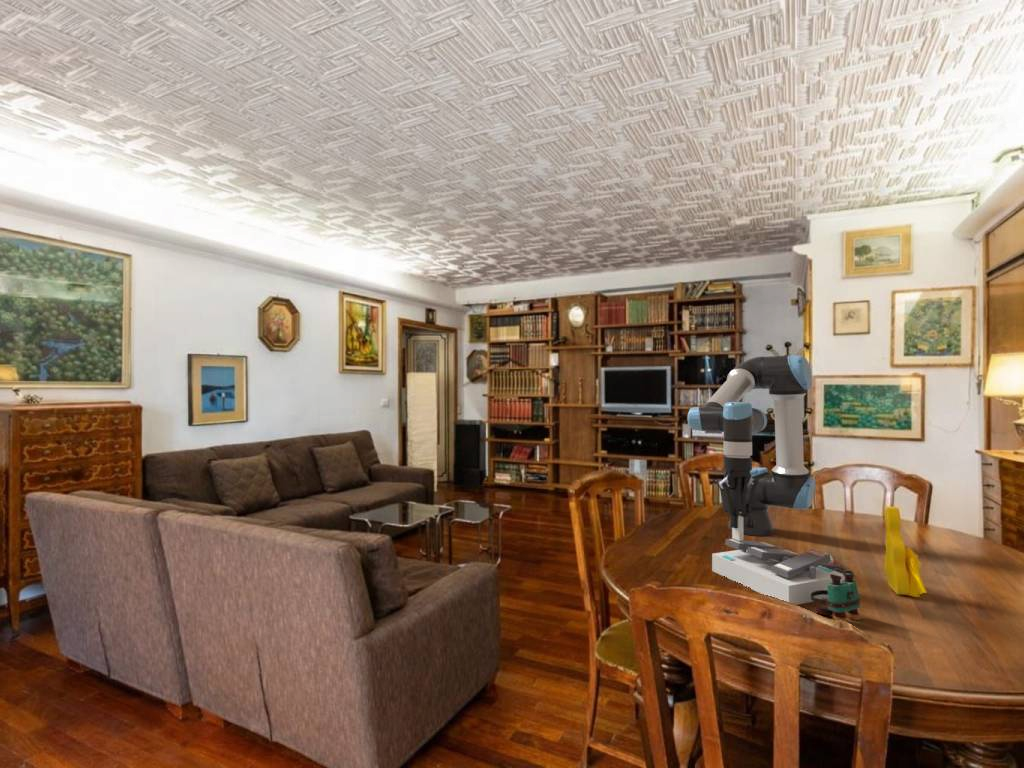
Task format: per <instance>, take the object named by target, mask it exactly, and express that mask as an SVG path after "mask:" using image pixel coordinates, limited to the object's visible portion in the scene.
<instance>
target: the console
mask: <svg viewBox="0 0 1024 768" xmlns="http://www.w3.org/2000/svg"><path fill="white" fill-rule="evenodd" d="M711 558H712V559H711V571H712V572H714V573H716V574H718V575H720V576H722V577H724V576H725V577H724V578H726V577H727V579H729V580H731V581H733V582H735V581H736V583H737V582H738V584H739V583H741V584H743V585H742V586H744V587H746V586H747V587H746V588H748V587H750V588H751V590H752V591H755V592H757V593H758V594H761V595H763V594H764V596H765V595H768V596H772V597H775V598H778V599H780V600H784V601H787V602H790V603H793V604H796V605H795V606H799V605H803V604H808V603H813V602H814V601H812V600H811V593H812V592H815V591H819V590H828V584H829V583H832V579H831V576H830V574H833V575H837V576H841V580H840V583H841V581H843V580H845V576H844V575H843V574H842V573H839V572H836V571H834V570H831V569H828V568H825V567H822V566H818V567H814V566H810V567H809V570H808V571H806V572H803V573H801V574H799V575H796V576H794V577H791V578H789V579H788V578H785V577H783V576H780V575H778V574H776V573H773V572H772V569H771V566H772V565H775V564H777V563H780V562H783V561H785V560H788V559H790V558H789V557H786V556H785V557H782V560H775V559H762V558H759V557H756V556H754V555H751V554H749V553H747V550H738V549H736V550H729V551H721V552H715V553H714V552H713V553H712V554H711ZM741 584H740V585H741ZM750 588H749V589H750ZM822 597H824V598H826V599H827V600H828V595H816V596H814V598H818V599H822ZM824 598H823V599H824ZM826 599H824V600H826ZM814 603H815V602H814Z"/></svg>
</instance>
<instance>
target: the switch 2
mask: <svg viewBox="0 0 1024 768" xmlns="http://www.w3.org/2000/svg"><path fill="white" fill-rule="evenodd" d="M747 553H749V554H751V555H754V556H756V557H759V558H762V559H775V560H782V557H785V556H786V557H789V558H793V557H795V556H798V555H800V554H801V553H796V552H794V551H791V550H788V549H779V550H777V549H766V548H756V547H748V548H747Z"/></svg>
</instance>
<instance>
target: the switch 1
mask: <svg viewBox="0 0 1024 768" xmlns="http://www.w3.org/2000/svg"><path fill="white" fill-rule="evenodd" d="M724 544H725V545H726V546H728V547H730V548H733V549H736V550H747V548H748V547H756V548H766V549H777V550H780V547H779V546H776V545H773V544H771V543H768V542H764V541H755V540H754V541H751V540H741V541H739V540H736V539H733V538H726V539H725V543H724Z"/></svg>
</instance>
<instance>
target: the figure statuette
mask: <svg viewBox="0 0 1024 768" xmlns="http://www.w3.org/2000/svg"><path fill="white" fill-rule="evenodd" d="M884 523H885V539H884V541H885V543H884V545H885V559H884V567H883V568H884V572H885V575H886V579H887V582H888V583H887V584H888V587H889V588H890V589H891V590H892V591H893V592H894V593H895V594H896V595H900V596H901V595H903V596H908V597H909V596H910V597H913V598H920V596H921V595H927V594H928V592H927V590H926V587H925V585H924V581H923V579H922V577H921V572H920V568H921V566H922V562H921V561H919V557H920V556H919V555H918V554H917V553H915V552H914V550H913V549H912V548H911V547H909V546H908V545H906V546H905V544H904V540H903V537H902V533H901V526H902V525H901V523H902V520H901V514H900V509H899V507H897V506H884Z"/></svg>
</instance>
